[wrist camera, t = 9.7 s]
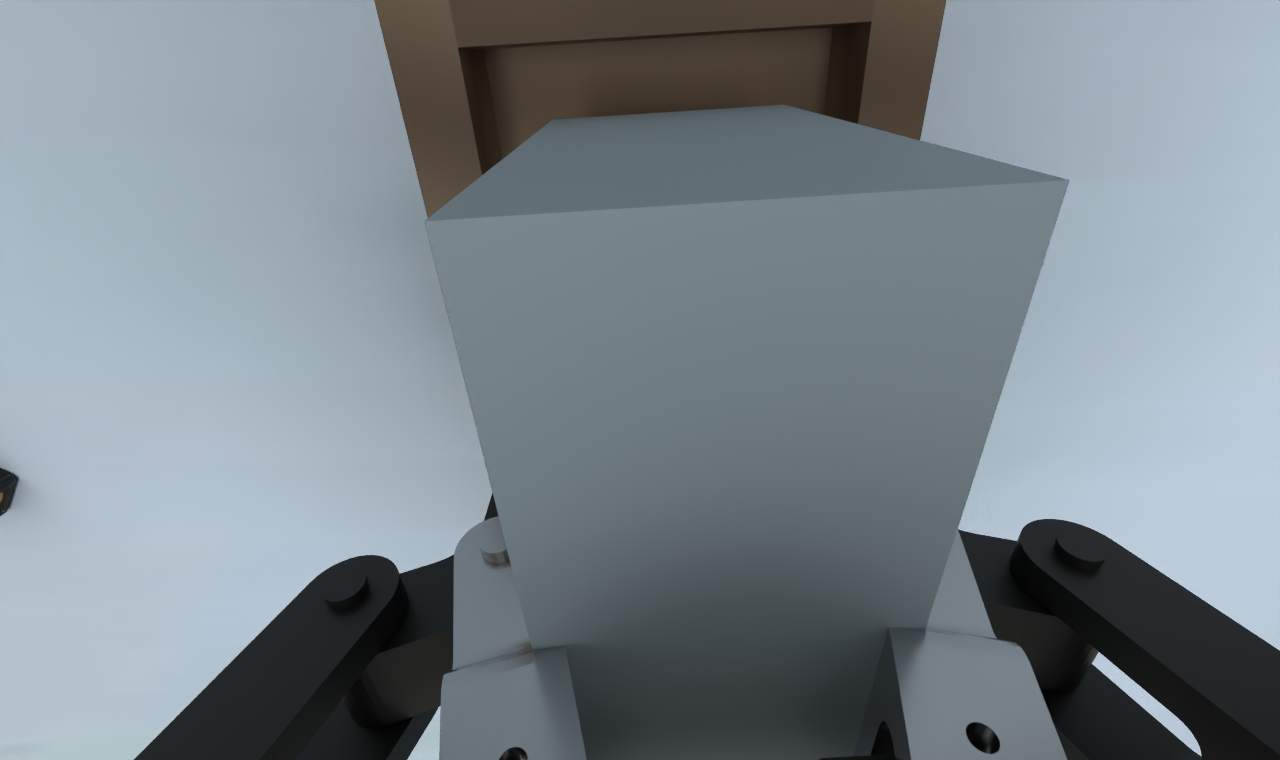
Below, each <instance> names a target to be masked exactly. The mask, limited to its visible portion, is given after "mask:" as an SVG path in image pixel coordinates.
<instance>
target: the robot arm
mask: <svg viewBox="0 0 1280 760" xmlns="http://www.w3.org/2000/svg"><path fill="white" fill-rule="evenodd" d="M1098 652H1100V653H1101V654H1102V655H1104V656H1105V657H1106V658H1107V659H1108V660H1110V661H1111V662H1112V663H1113V664H1114V665H1116V666H1117V667H1118V668H1119V669H1120V670H1121V671H1123V672H1124V673H1125V674H1126V675H1127V676H1129V677H1130V678H1131V679H1132V680H1133V681H1135V682H1136V683H1137V684H1138V685H1139V686H1141V687H1142V688H1143V689H1144V690H1145V691H1147V692H1148V693H1149V694H1150V695H1151V696H1153V697H1154V698H1155V699H1156V700H1157V701H1159V702H1160V703H1161V704H1162V705H1163V706H1165V707H1166V708H1167V709H1168V710H1169V711H1171V712H1172V713H1173V714H1174V715H1175V716H1177V717H1178V718H1179V719H1180V720H1181V721H1182V722H1183V723H1184V724H1185V725H1186V726H1187V727H1188V729H1189V730H1190V731H1191V732H1192V734H1193V735H1194V737H1195V738H1196V740H1197V742H1198V744H1199V746H1200V749H1201V754H1202V757H1201V756H1200V755H1198V754H1197V753H1195V752H1194V751H1193V750H1191V749H1190V748H1189V747H1188V746H1186V745H1185V744H1184V743H1183V742H1182V741H1181V740H1179V739H1178V738H1177V737H1176V736H1175V735H1174V734H1173V733H1171V732H1170V731H1169V730H1168V729H1167V728H1166V727H1164V726H1163V725H1162V724H1161V723H1160V722H1159V721H1157V720H1156V719H1155V718H1154V717H1153V716H1152V715H1150V714H1149V713H1148V712H1147V711H1146V710H1145V709H1144V708H1142V707H1141V706H1140V705H1139V704H1138V703H1137V702H1135V701H1134V700H1133V699H1132V698H1131V697H1130V696H1128V695H1127V694H1126V693H1125V692H1124V691H1123V690H1121V689H1120V688H1119V687H1118V686H1117V685H1116V684H1115V683H1113V682H1112V681H1111V680H1110V679H1109V678H1108V677H1106V676H1105V675H1104V674H1103V673H1102V672H1101V671H1099V670H1098V669H1097V668H1096V667H1095V666H1094V665H1092V662H1093V660H1094V659H1095V657H1096V655H1097V654H1098ZM439 706H441V711H440V751H439V760H587V755H586V750H585V745H584V740H583V735H582V730H581V724H580V719H579V714H578V709H577V704H576V699H575V694H574V689H573V683H572V678H571V673H570V668H569V663H568V658H567V653H566V648H565V645H564V646H556V647H548V648H542V649H536V650H532V647H531V643H530V639H529V635H528V631H527V627H526V623H525V619H524V615H523V611H522V607H521V603H520V599H519V595H518V591H517V587H516V583H515V579H514V575H513V571H512V567H511V563H510V560H509V556H508V552H507V548H506V544H505V540H504V536H503V532H502V528H501V524H500V520H499V516H498V512H497V508H496V504H495V500H494V496H493V493H492V496H491V500H490V503H489V506H488V509H487V513H486V516H485V519H484V521H483V522H481V523H479V524H478V525H476V526H474V527H473V528H472V529H470V530H469V531H468V532H467V533H466V534H465V535H464V536H463V537H462V538H461V540H460V541H459V543H458V545H457V547H456V549H455V552H454V555H452V556H450V557H448V558H446V559H444V560H441V561H439V562H436V563H433V564H430V565H427V566H423V567H420V568H417V569H414V570H410V571H407V572H404V573H401V574H399V572H398V569H397V567H396V565H395V564H394V563H393V562H392V561H390V560H389V559H387V558H384V557H382V556H376V555H365V556H358V557H354V558H350V559H348V560H345V561H342V562H340V563H338V564H336V565H334V566H332V567H330V568H329V569H327V570H325V571H324V572H322V573H321V574H320V575H318V576H317V577H316V578H315V579H314V580H313V581H312V582H310V583H309V584H308V585H307V586H306V587H305V588H304V589H303V590H302V591H301V592H300V593H299V594H298V596H297V597H296V598H295V599H294V600H293V601H292V602H291V603H290V604H289V605H288V606H287V607H286V608H285V609H284V610H283V611H282V612H281V613H280V614H279V615H278V616H277V617H276V618H275V619H274V620H273V621H272V622H271V623H270V624H269V625H268V626H267V627H266V628H265V629H264V630H263V631H262V632H261V633H260V634H259V635H258V636H257V637H256V638H255V639H254V640H253V641H252V642H251V643H250V644H249V645H248V646H247V647H246V648H245V649H244V650H243V651H242V652H241V653H240V654H239V655H238V656H237V657H236V658H235V659H234V660H233V661H232V662H231V663H230V664H229V665H228V666H227V667H226V668H225V669H224V670H223V671H222V672H221V673H220V674H219V675H218V676H217V677H216V678H215V679H214V680H213V681H212V682H211V683H210V684H209V685H208V686H207V687H206V688H205V689H204V690H203V691H202V692H201V693H200V694H199V695H198V696H197V697H196V698H195V699H194V700H193V701H192V702H191V703H190V704H189V705H188V706H187V707H186V708H185V709H184V710H183V711H182V712H181V713H180V714H179V715H178V716H177V717H176V718H175V719H174V720H173V721H172V722H171V723H170V724H169V725H168V726H167V727H166V728H165V729H164V730H163V731H162V732H161V733H160V734H159V735H158V736H157V737H156V738H155V739H154V740H153V741H152V742H151V743H150V744H149V745H148V746H147V747H146V748H145V749H144V750H143V751H142V752H141V753H140V754H139V755H138V756H137V757H136V758H135V759H134V760H407V759H408V757H409V755H410V754H411V752H412V750H413V749H414V747H415V746H416V744H417V742H418V741H419V739H420V737H421V736H422V734H423V733H424V731H425V729H426V728H427V726H428V724H429V723H430V721H431V719H432V718H433V716H434V715H435V713H436V711H437V709H438V707H439ZM819 760H1280V651H1279V650H1278V649H1276V648H1275V647H1273V646H1272V645H1270V644H1269V643H1267V642H1266V641H1264V640H1263V639H1261V638H1260V637H1258V636H1257V635H1255V634H1254V633H1252V632H1250V631H1249V630H1247V629H1246V628H1244V627H1243V626H1241V625H1240V624H1238V623H1237V622H1235V621H1234V620H1232V619H1231V618H1229V617H1228V616H1226V615H1225V614H1223V613H1222V612H1220V611H1219V610H1217V609H1216V608H1214V607H1213V606H1211V605H1210V604H1208V603H1207V602H1205V601H1204V600H1202V599H1201V598H1199V597H1198V596H1196V595H1194V594H1193V593H1191V592H1190V591H1188V590H1187V589H1185V588H1184V587H1182V586H1181V585H1179V584H1178V583H1176V582H1175V581H1173V580H1172V579H1170V578H1169V577H1167V576H1166V575H1164V574H1163V573H1161V572H1160V571H1158V570H1157V569H1155V568H1154V567H1152V566H1151V565H1149V564H1148V563H1146V562H1145V561H1143V560H1142V559H1140V558H1138V557H1137V556H1135V555H1134V554H1132V553H1131V552H1129V551H1128V550H1126V549H1125V548H1123V547H1122V546H1120V545H1119V544H1117V543H1116V542H1114V541H1113V540H1111V539H1110V538H1108V537H1106V536H1105V535H1103V534H1101V533H1099V532H1097V531H1095V530H1093V529H1090V528H1088V527H1085V526H1083V525H1080V524H1076V523H1073V522H1069V521H1064V520H1057V519H1042V520H1036V521H1033V522H1031V523H1029V524H1027V525H1026V526H1025V527H1024V528H1023V529H1022V531H1021V533H1020V536H1019V538H1018V541H1013V540H1007V539H1002V538H996V537H991V536H985V535H979V534H974V533H969V532H965V531H962V530H959V529H957V532H956V535H955V538H954V541H953V545H952V548H951V551H950V554H949V557H948V560H947V563H946V566H945V569H944V573H943V576H942V579H941V582H940V585H939V588H938V591H937V594H936V598H935V601H934V604H933V607H932V610H931V613H930V616H929V619H928V623H927V626H926V629H916V628H888V630H887V634H886V638H885V641H884V645H883V649H882V652H881V656H880V660H879V663H878V667H877V671H876V674H875V678H874V682H873V685H872V689H871V693H870V696H869V700H868V704H867V707H866V711H865V715H864V718H863V722H862V726H861V729H860V733H859V737H858V740H857V744H856V748H855V751H854V755H853V756H851V757H832V758H822V759H819Z"/></svg>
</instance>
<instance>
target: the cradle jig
mask: <svg viewBox="0 0 1280 760" xmlns="http://www.w3.org/2000/svg"><path fill="white" fill-rule="evenodd" d="M374 1H375V5H376V9H377V13H378V17H379V21H380V25H381V29H382V33H383V37H384V41H385V46H386V50H387V54H388V58H389V62H390V66H391V70H392V74H393V78H394V82H395V86H396V90H397V94H398V98H399V102H400V106H401V111H402V115H403V119H404V123H405V127H406V131H407V135H408V139H409V143H410V147H411V151H412V155H413V159H414V163H415V167H416V171H417V176H418V180H419V184H420V188H421V192H422V196H423V200H424V204H425V208H426V212H427V216H428V218H429V217H430V216H432V215H433V214H434V213H435V212H437V211H438V210H439V209H440V208H442V207H443V206H444V205H446V204H447V203H448V202H449V201H451V200H452V199H453V198H454V197H456V196H457V195H458V194H459V193H461V192H462V191H463V190H464V189H466V188H467V187H468V186H469V185H471V184H472V183H473V182H475V181H476V180H477V179H478V178H480V177H481V176H482V175H483V174H485V173H486V172H487V171H488V170H490V169H491V168H492V167H493V166H495V165H496V164H497V163H499V162H500V161H501V160H502V159H504V158H505V157H506V156H507V155H509V154H510V153H511V152H512V151H514V150H515V149H516V148H517V147H519V146H520V145H521V144H522V143H524V142H525V141H526V140H528V139H529V138H530V137H531V136H533V135H534V134H535V133H536V132H538V131H539V130H540V129H541V128H543V127H544V126H545V125H546V124H548V123H549V122H550V121H551V120H555V119H570V118H585V117H601V116H616V115H632V114H647V113H663V112H678V111H693V110H709V109H724V108H740V107H755V106H770V105H788V106H792V107H795V108H799V109H803V110H807V111H810V112H814V113H818V114H822V115H825V116H829V117H833V118H837V119H840V120H844V121H848V122H852V123H856V124H859V125H863V126H867V127H871V128H874V129H878V130H882V131H886V132H889V133H893V134H897V135H901V136H905V137H908V138H912V139H916V140H920V137H921V132H922V126H923V121H924V116H925V110H926V105H927V100H928V94H929V89H930V84H931V78H932V73H933V68H934V62H935V57H936V52H937V46H938V41H939V36H940V30H941V25H942V20H943V15H944V9H945V4H946V0H374Z"/></svg>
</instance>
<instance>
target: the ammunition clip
mask: <svg viewBox="0 0 1280 760" xmlns="http://www.w3.org/2000/svg"><path fill="white" fill-rule="evenodd" d="M15 482H16V480H15V479H14V477H13V473H11V472H9V471H6V470H4V469H1V468H0V516H1V515H3V514H4V513H6V512H7V510H8V506H9V503H10V499H11V496H12V492H13V489H14V486H15Z"/></svg>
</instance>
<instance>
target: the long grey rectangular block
mask: <svg viewBox="0 0 1280 760" xmlns="http://www.w3.org/2000/svg"><path fill="white" fill-rule="evenodd" d="M1068 183H1069V180H1067V179H1063V178H1059V177H1055V176H1051V175H1048V174H1044V173H1040V172H1036V171H1033V170H1029V169H1025V168H1021V167H1018V166H1014V165H1010V164H1006V163H1002V162H999V161H995V160H991V159H987V158H984V157H980V156H976V155H972V154H969V153H965V152H961V151H957V150H954V149H950V148H946V147H942V146H938V145H935V144H931V143H927V142H923V141H920V140H916V139H912V138H908V137H905V136H901V135H897V134H893V133H889V132H886V131H882V130H878V129H874V128H871V127H867V126H863V125H859V124H856V123H852V122H848V121H844V120H840V119H837V118H833V117H829V116H825V115H822V114H818V113H814V112H810V111H807V110H803V109H799V108H795V107H792V106H788V105H770V106H755V107H740V108H724V109H709V110H693V111H678V112H663V113H647V114H632V115H616V116H601V117H585V118H570V119H555V120H551V121H550V122H549V123H548V124H546V125H545V126H544V127H543V128H541V129H540V130H539V131H538V132H536V133H535V134H534V135H533V136H531V137H530V138H529V139H528V140H526V141H525V142H524V143H522V144H521V145H520V146H519V147H517V148H516V149H515V150H514V151H512V152H511V153H510V154H509V155H507V156H506V157H505V158H504V159H502V160H501V161H500V162H499V163H497V164H496V165H495V166H493V167H492V168H491V169H490V170H488V171H487V172H486V173H485V174H483V175H482V176H481V177H480V178H478V179H477V180H476V181H475V182H473V183H472V184H471V185H469V186H468V187H467V188H466V189H464V190H463V191H462V192H461V193H459V194H458V195H457V196H456V197H454V198H453V199H452V200H451V201H449V202H448V203H447V204H446V205H444V206H443V207H442V208H440V209H439V210H438V211H437V212H435V213H434V214H433V215H432V216H430V217H429V218H428V219H427V220H425V225H426V229H427V233H428V237H429V241H430V245H431V249H432V253H433V257H434V261H435V265H436V269H437V273H438V277H439V281H440V285H441V289H442V293H443V297H444V301H445V305H446V309H447V313H448V317H449V321H450V325H451V329H452V333H453V337H454V341H455V345H456V349H457V353H458V357H459V361H460V365H461V368H462V372H463V376H464V380H465V384H466V388H467V392H468V396H469V400H470V404H471V408H472V412H473V416H474V420H475V424H476V428H477V432H478V436H479V440H480V444H481V448H482V452H483V456H484V460H485V464H486V468H487V472H488V476H489V480H490V484H491V488H492V492H493V496H494V500H495V504H496V508H497V512H498V516H499V520H500V524H501V528H502V532H503V536H504V540H505V544H506V548H507V552H508V556H509V560H510V563H511V567H512V571H513V575H514V579H515V583H516V587H517V591H518V595H519V599H520V603H521V607H522V611H523V615H524V619H525V623H526V627H527V631H528V635H529V639H530V643H531V647H532V650H536V649H542V648H548V647H556V646H564V645H565V648H566V653H567V658H568V663H569V668H570V673H571V678H572V683H573V689H574V694H575V699H576V704H577V709H578V714H579V719H580V724H581V730H582V735H583V740H584V745H585V750H586V755H587V760H819V759H822V758H832V757H851V756H853V755H854V751H855V748H856V744H857V740H858V737H859V733H860V729H861V726H862V722H863V718H864V715H865V711H866V707H867V704H868V700H869V696H870V693H871V689H872V685H873V682H874V678H875V674H876V671H877V667H878V663H879V660H880V656H881V652H882V649H883V645H884V641H885V638H886V634H887V630H888V628H916V629H926V626H927V623H928V619H929V616H930V613H931V610H932V607H933V604H934V601H935V598H936V594H937V591H938V588H939V585H940V582H941V579H942V576H943V573H944V569H945V566H946V563H947V560H948V557H949V554H950V551H951V548H952V545H953V541H954V538H955V535H956V532H957V529H958V526H959V523H960V520H961V516H962V513H963V510H964V507H965V504H966V501H967V498H968V495H969V491H970V488H971V485H972V482H973V479H974V476H975V473H976V470H977V467H978V463H979V460H980V457H981V454H982V451H983V448H984V445H985V442H986V438H987V435H988V432H989V429H990V426H991V423H992V420H993V417H994V413H995V410H996V407H997V404H998V401H999V398H1000V395H1001V392H1002V389H1003V385H1004V382H1005V379H1006V376H1007V373H1008V370H1009V367H1010V364H1011V360H1012V357H1013V354H1014V351H1015V348H1016V345H1017V342H1018V339H1019V335H1020V332H1021V329H1022V326H1023V323H1024V320H1025V317H1026V314H1027V311H1028V307H1029V304H1030V301H1031V298H1032V295H1033V292H1034V289H1035V286H1036V282H1037V279H1038V276H1039V273H1040V270H1041V267H1042V264H1043V261H1044V258H1045V254H1046V251H1047V248H1048V245H1049V242H1050V239H1051V236H1052V233H1053V229H1054V226H1055V223H1056V220H1057V217H1058V214H1059V211H1060V208H1061V204H1062V201H1063V198H1064V195H1065V192H1066V189H1067V186H1068Z"/></svg>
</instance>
